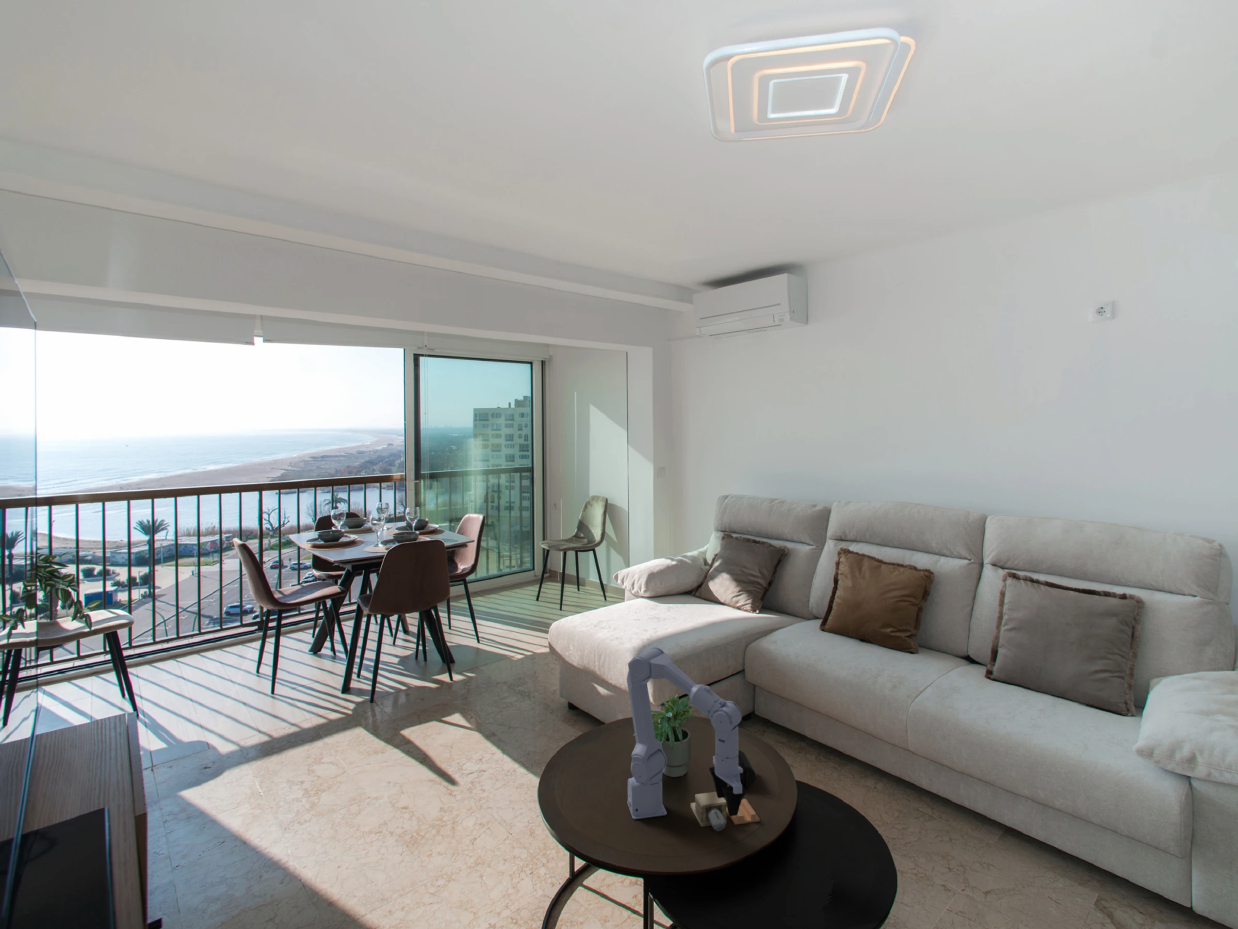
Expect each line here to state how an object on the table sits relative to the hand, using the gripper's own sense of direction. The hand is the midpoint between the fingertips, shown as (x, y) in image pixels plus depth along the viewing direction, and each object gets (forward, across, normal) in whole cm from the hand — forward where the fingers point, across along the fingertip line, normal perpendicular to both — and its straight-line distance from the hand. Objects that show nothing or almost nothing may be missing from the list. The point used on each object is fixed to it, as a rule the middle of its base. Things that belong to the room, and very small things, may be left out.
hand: (727, 805), depth 151 cm
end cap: (+10, +26, -14) cm, 31 cm away
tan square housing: (+9, +12, +1) cm, 15 cm away
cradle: (+10, +10, -8) cm, 16 cm away
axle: (+7, +8, +1) cm, 11 cm away
